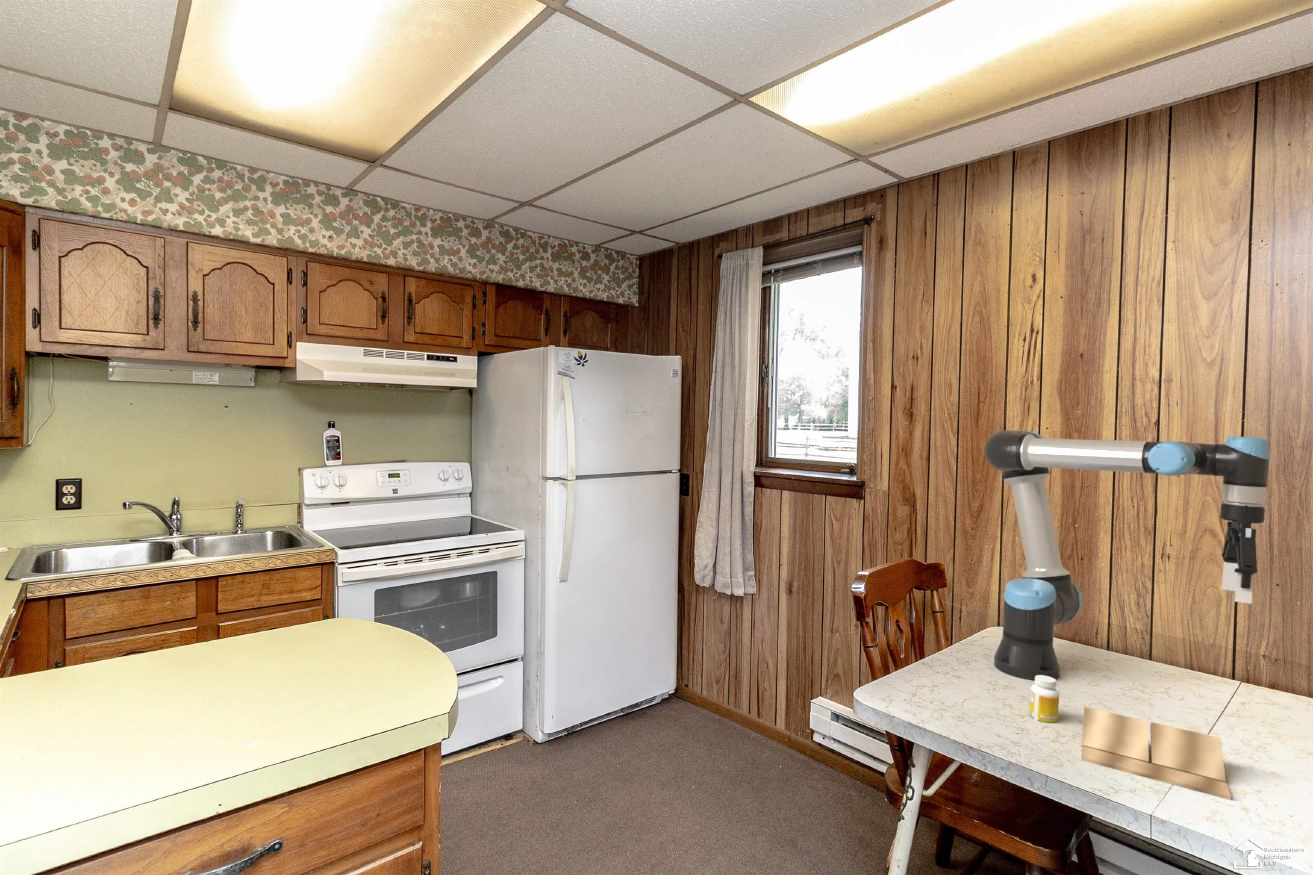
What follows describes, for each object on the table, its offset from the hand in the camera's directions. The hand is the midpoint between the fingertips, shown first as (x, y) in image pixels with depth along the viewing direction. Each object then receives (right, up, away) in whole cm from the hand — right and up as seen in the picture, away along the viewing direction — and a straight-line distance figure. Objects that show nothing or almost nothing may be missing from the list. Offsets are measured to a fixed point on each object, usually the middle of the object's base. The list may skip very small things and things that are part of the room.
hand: (1235, 596), depth 151 cm
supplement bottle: (-49, -26, -8) cm, 56 cm away
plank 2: (-33, -23, -27) cm, 49 cm away
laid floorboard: (-42, -26, -30) cm, 58 cm away
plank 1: (-42, -23, -21) cm, 53 cm away
